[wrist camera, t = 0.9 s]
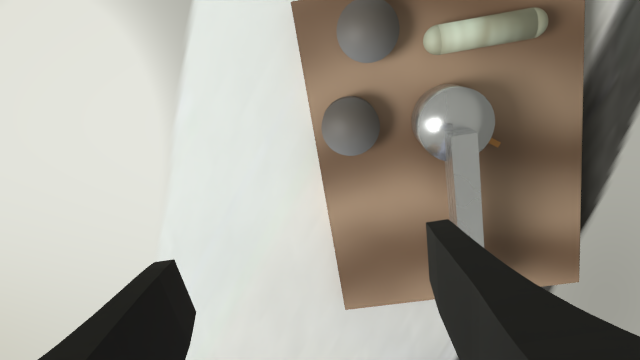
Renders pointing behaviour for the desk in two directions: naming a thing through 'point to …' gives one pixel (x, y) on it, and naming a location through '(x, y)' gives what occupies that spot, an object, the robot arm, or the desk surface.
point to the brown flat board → (415, 161)
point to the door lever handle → (457, 147)
